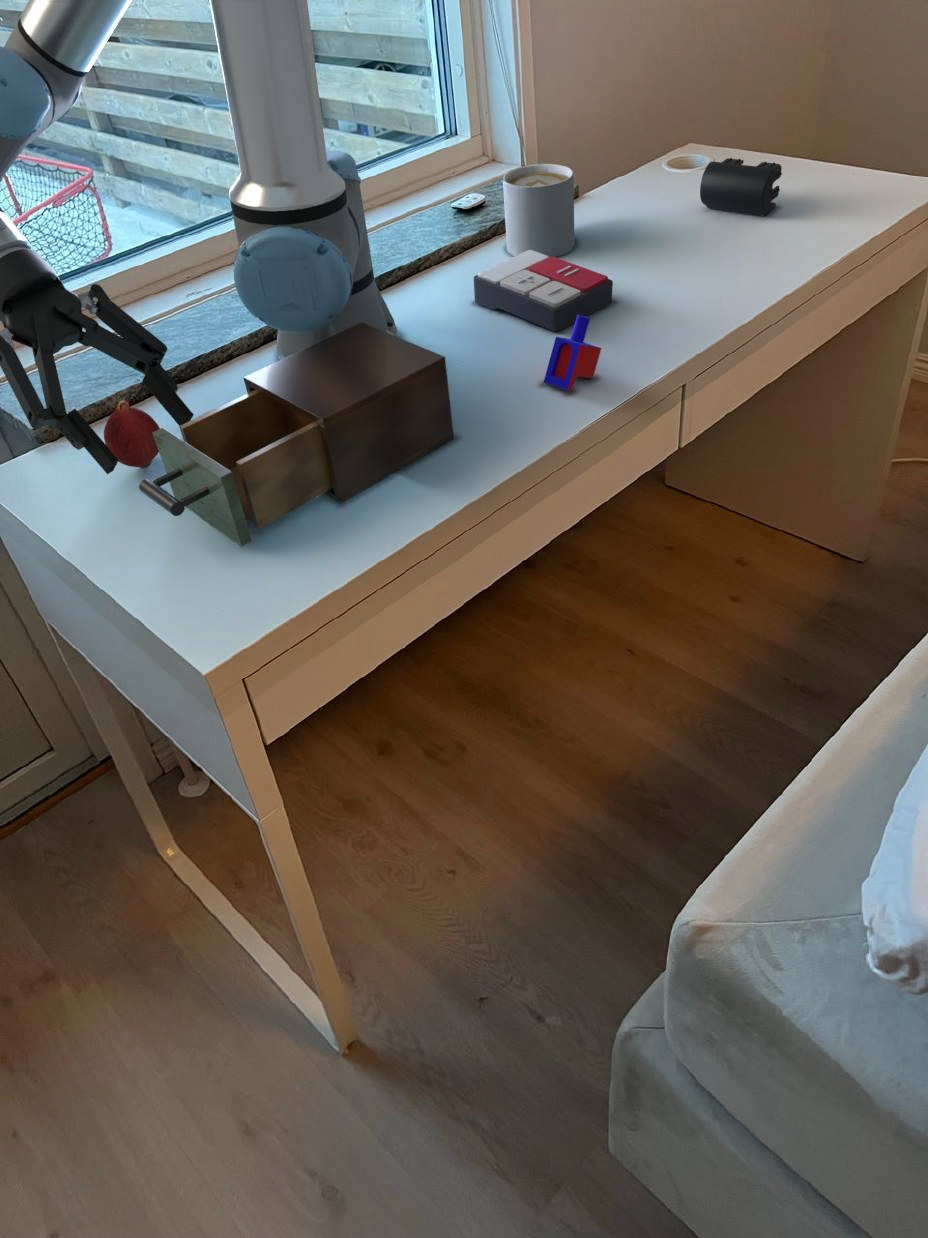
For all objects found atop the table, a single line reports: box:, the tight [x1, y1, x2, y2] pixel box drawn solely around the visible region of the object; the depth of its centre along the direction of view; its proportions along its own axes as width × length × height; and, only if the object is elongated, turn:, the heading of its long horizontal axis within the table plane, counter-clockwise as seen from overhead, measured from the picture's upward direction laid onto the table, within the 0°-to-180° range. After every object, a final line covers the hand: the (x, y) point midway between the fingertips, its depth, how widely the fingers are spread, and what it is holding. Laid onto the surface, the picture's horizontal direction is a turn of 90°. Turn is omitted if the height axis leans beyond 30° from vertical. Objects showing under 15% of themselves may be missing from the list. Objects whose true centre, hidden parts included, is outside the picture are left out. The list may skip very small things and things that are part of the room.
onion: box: [103, 399, 161, 469], centre depth 102 cm, size 6×6×8 cm
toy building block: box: [543, 315, 602, 392], centre depth 109 cm, size 4×4×8 cm
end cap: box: [699, 157, 783, 217], centre depth 143 cm, size 10×7×7 cm
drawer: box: [138, 390, 333, 548], centre depth 94 cm, size 19×12×8 cm, turn 133°
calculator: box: [473, 250, 614, 332], centre depth 126 cm, size 11×4×15 cm
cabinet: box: [242, 323, 455, 504], centre depth 101 cm, size 16×14×10 cm
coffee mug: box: [502, 163, 575, 258], centre depth 139 cm, size 13×10×10 cm
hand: (151, 443), depth 101 cm, fingers open, 9 cm apart
